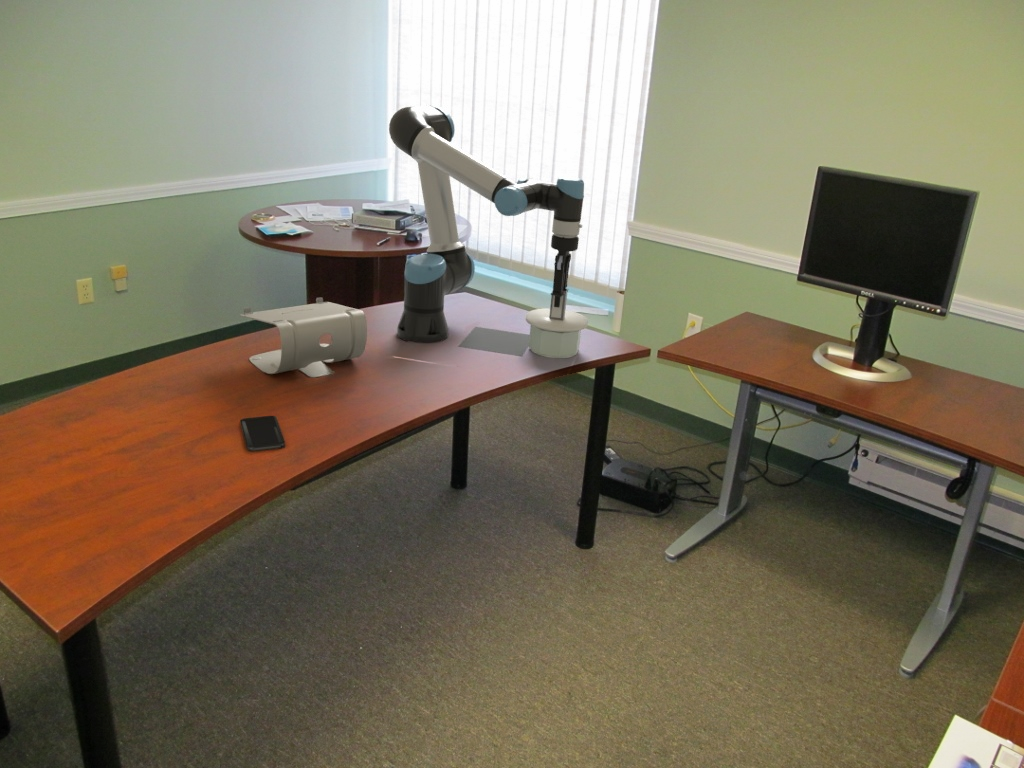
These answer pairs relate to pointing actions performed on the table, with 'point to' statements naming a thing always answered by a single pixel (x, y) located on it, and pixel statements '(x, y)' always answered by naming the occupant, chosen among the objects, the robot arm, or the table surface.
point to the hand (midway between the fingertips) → (557, 315)
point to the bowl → (554, 343)
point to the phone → (262, 433)
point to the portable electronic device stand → (311, 337)
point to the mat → (496, 341)
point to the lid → (557, 319)
